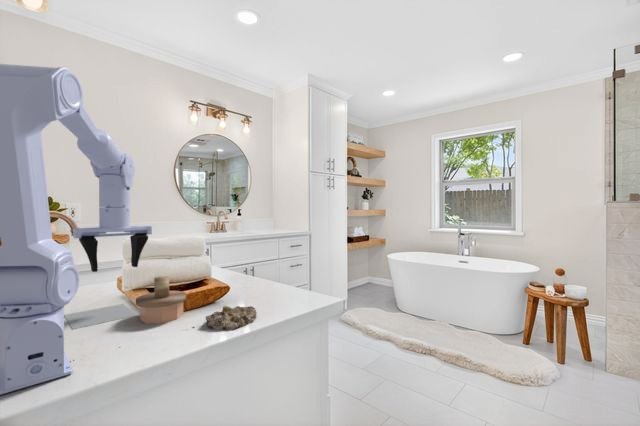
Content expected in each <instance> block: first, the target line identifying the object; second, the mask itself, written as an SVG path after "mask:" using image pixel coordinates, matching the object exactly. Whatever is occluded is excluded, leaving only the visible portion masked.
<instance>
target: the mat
mask: <svg viewBox="0 0 640 426" xmlns="http://www.w3.org/2000/svg"><path fill="white" fill-rule="evenodd" d="M137 316H138V315H137V314H136V313H135V312H134V311H133V310H131V309H130V308H129V307H127V306H126V305H125V304H124V303H121V304H116V305H110V306H105V307H100V308H94V309H90V310H84V311H78V312H72V313H67V314H64V319H65V320H66V322H67V323H68V324H69V326H70V328H71V330H77V329H82V328H87V327H90V326H96V325H101V324H105V323H109V322H114V321H119V320H123V319H129V318H133V317H137Z"/></svg>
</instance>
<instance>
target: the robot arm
mask: <svg viewBox="0 0 640 426" xmlns="http://www.w3.org/2000/svg"><path fill="white" fill-rule="evenodd" d="M54 121H59V122H60V123H61V125H63V126H64V127H65V128H66V129H67V130H68V131H70V132H71V134H73V135H74V137H76V139H77V141H76V145H77V148H78V149H79V150H80V151H81V152H82V154H83V155H84V156H86V158H87V159H88V160H89V162H90V163H89V164H90V166H91V168H92V171H93V174H94V176H95V177H96V178H97V179H98V197H99V198H98V210H99V211H98V213H99V217H98V219H99V220H98V223H99V226H98V227H97V226H96V227H81V228H72V233H73V235H72V238H73V239H78V241H79V243H80V244H81V246H82V247H83V249H84V252H85V253H86V255H87V258H88V262H89V265H90V269H91V272H92V273H96V272H98V268H99V267H98V265H99V264H98V240H97V238H103V237H121V236H130V237H129V238H130V244H131V245H130V246H131V255H130V256H131V258H130V259H131V260H130V261H131V262H130V263H131V267H133V268H138V265H139V262H140V261H139V260H140V257H141V255H142V253H143V249H144V247H145V245H146V244H147V242H148V239H149V235H152V234H153V230H152V229H153V227H152V225H135V226H133V225H132V226H131V208H130V207H131V187H133V179H134V175H135V172H136V171H135V170H136V169H135V168H136V167H135V162H134V159H133V157H132V156H130V155H128V154H127V153H123V152H122V151H121V149H120V148H119V147H118V146H117V144H116V143H115V142H114V140H113V138H111V137H112V136H110V135H109V134H108V133H107V131H105V130H102V129H99V128H97V127H96V125H95V123H94V122H93V120H92V119H91V117H90V115H89V113H88V112H87V110H86V109H85V107H84V94H83V88H82V85H81V83H80V81H79V79H78V78H77V75H75V74H74V73H73V72H72V70H70V68H68V67H64V66H58V67H53V66H50V67H49V66H37V65H24V64H23V65H20V64H5V63H2V62H0V242H1V243H0V244H1V245H0V395H1V396H2V395H3V394H8V393H10V392H15V391H17V390H20V389H23V388H28V387H31V386H34V385H38V384H42V383H45V382H48V381H52V380H54V379H57V378H61V377H64V376H69V375H71V374H73V372H74V368H73V366H72V364H71V362H70V360H69V358H68V356H67V353H66V351H65V317H64V315H65V306H66V305H69V304H70V302H71V301H72V300H73V298H75V296H76V294H77V292H78V291H79V290H78V289H79V288H80V287H79V286H80V274H79V271H78V269H77V268H76V265H75V262H74V259H73V253H72V251H71V250H69V249H68V248H66V247H65V246H63V245H62V244H60V243H58V242H57V241H55V239H53V232H52V224H51V215H50V206H49V196H48V187H47V177H46V169H45V168H46V167H45V159H44V152H43V151H44V150H43V149H44V148H43V142H42V131H43V130H44V129H45V128H46V127H47V126H48V125H49V124H51V123H52V122H54ZM119 232H120V233H119ZM122 232H123V233H122Z"/></svg>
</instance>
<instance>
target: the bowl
mask: <svg viewBox="0 0 640 426" xmlns="http://www.w3.org/2000/svg"><path fill="white" fill-rule="evenodd" d="M183 315H184V301H183V302H181V303H178V304H175V305H170V306H165V307H155V308H146V307H139V319H140V321H141V322H143V323H144V324H164V323H169V322H172V321H177V320H178V319H179V318H180V317H182V316H183Z"/></svg>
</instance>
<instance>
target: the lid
mask: <svg viewBox="0 0 640 426" xmlns="http://www.w3.org/2000/svg"><path fill="white" fill-rule="evenodd" d="M153 279H154V283H153V285H154V289H153V291H154V292H149V293H145V294H142V295H140V296H139V295H138V297H136V299H135V305H136V306H137V307H139V308H140V307H146V308H155V307H165V306H170V305H175V304H178V303H181V302H183V303H184V302H185V301H186V300H187V293H186V292H185V291H180V290H170V276H155V278H153Z"/></svg>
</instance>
